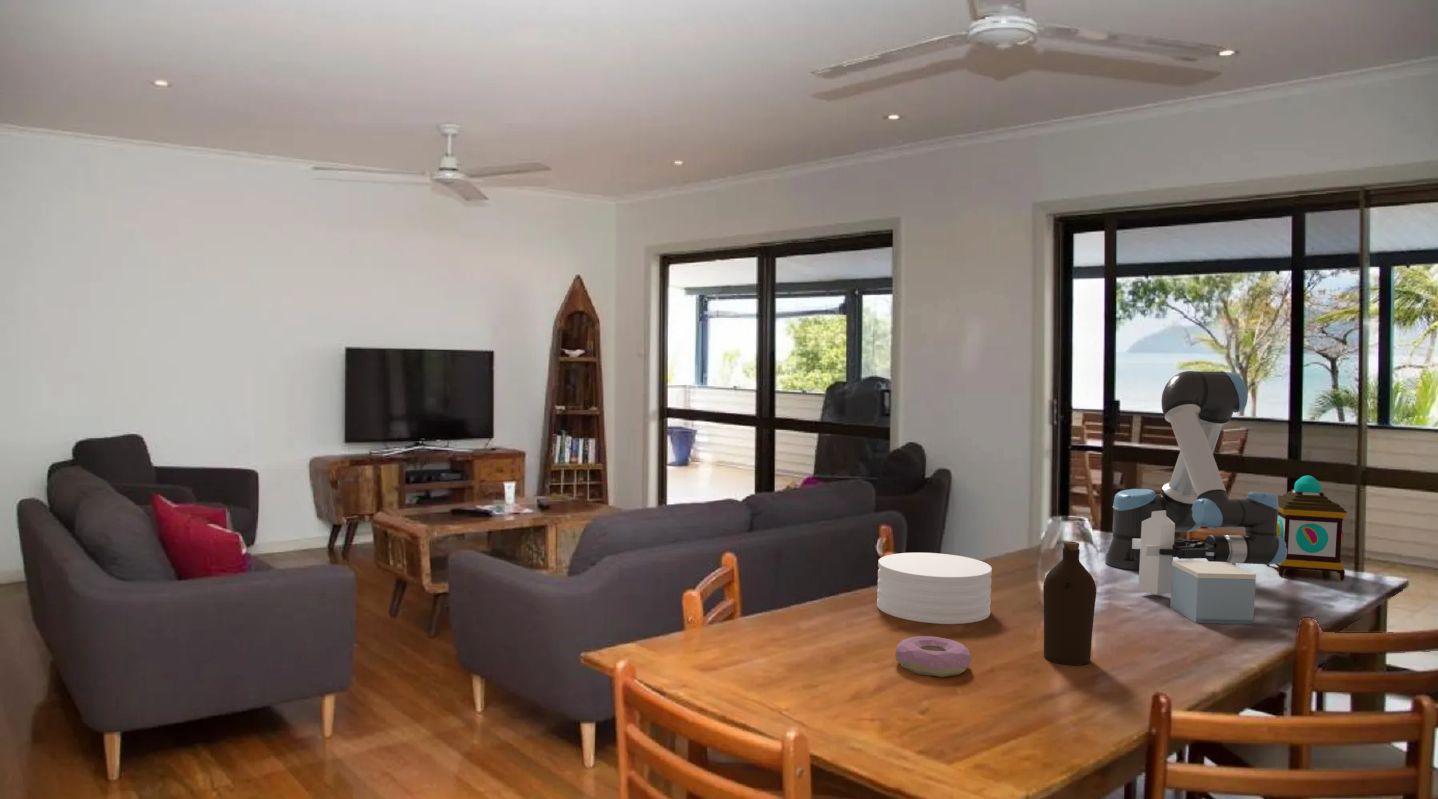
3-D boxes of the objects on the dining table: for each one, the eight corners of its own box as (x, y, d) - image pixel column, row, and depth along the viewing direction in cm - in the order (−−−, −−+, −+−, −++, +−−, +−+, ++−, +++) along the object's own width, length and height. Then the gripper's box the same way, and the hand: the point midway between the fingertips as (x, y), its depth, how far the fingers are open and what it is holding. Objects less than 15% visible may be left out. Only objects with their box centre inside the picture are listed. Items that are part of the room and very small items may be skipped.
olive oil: (1102, 666, 206) (1107, 547, 205) (1053, 666, 205) (1058, 547, 203) (1079, 650, 216) (1083, 537, 215) (1032, 651, 215) (1036, 537, 214)
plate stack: (861, 613, 244) (862, 567, 243) (896, 590, 269) (897, 548, 268) (975, 630, 231) (977, 582, 230) (1001, 604, 255) (1002, 560, 255)
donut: (879, 666, 203) (880, 642, 203) (921, 651, 214) (922, 629, 214) (944, 685, 192) (945, 660, 192) (985, 669, 203) (986, 645, 203)
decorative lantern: (1329, 569, 307) (1334, 473, 305) (1351, 583, 288) (1357, 481, 286) (1258, 564, 312) (1262, 469, 311) (1275, 577, 293) (1280, 477, 291)
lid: (1226, 566, 254) (1226, 561, 254) (1255, 579, 240) (1255, 574, 240) (1172, 565, 255) (1172, 560, 255) (1197, 578, 241) (1198, 573, 241)
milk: (1137, 590, 268) (1141, 509, 267) (1152, 587, 271) (1155, 508, 270) (1157, 595, 263) (1161, 513, 262) (1172, 592, 266) (1175, 511, 265)
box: (1224, 609, 255) (1226, 566, 254) (1253, 624, 241) (1255, 579, 240) (1170, 607, 255) (1172, 565, 255) (1195, 622, 241) (1197, 578, 241)
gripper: (1243, 572, 256) (1155, 569, 256) (1204, 554, 277) (1123, 552, 277) (1244, 543, 255) (1156, 541, 256) (1206, 527, 276) (1124, 525, 276)
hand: (1139, 547), depth 266 cm, fingers closed on milk, 8 cm apart
